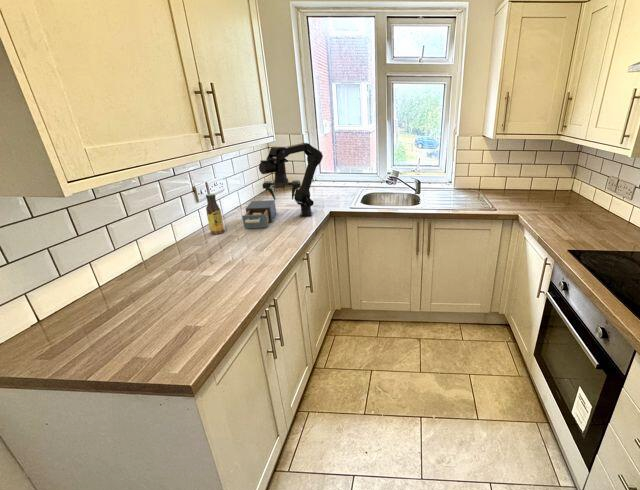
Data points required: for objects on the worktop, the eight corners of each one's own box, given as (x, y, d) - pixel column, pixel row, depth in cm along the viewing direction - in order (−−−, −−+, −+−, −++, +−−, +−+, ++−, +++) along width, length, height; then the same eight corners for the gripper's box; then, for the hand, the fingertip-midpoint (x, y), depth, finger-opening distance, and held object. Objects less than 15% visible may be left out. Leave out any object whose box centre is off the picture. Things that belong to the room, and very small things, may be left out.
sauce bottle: (218, 235, 157) (210, 196, 149) (207, 234, 158) (198, 195, 150) (227, 230, 163) (220, 193, 155) (217, 229, 164) (209, 192, 156)
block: (254, 220, 171) (253, 213, 170) (263, 220, 172) (262, 212, 170) (252, 223, 167) (251, 215, 166) (261, 223, 168) (260, 215, 166)
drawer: (265, 230, 161) (263, 218, 159) (241, 231, 159) (239, 219, 156) (272, 218, 178) (270, 207, 175) (250, 219, 176) (248, 208, 173)
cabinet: (272, 222, 175) (270, 207, 172) (248, 223, 173) (245, 208, 170) (276, 213, 189) (274, 200, 185) (254, 214, 186) (251, 201, 183)
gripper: (258, 174, 157) (262, 204, 163) (296, 173, 161) (300, 203, 167) (262, 170, 167) (266, 199, 173) (299, 169, 171) (302, 197, 177)
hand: (283, 199), depth 172 cm, fingers open, 9 cm apart
